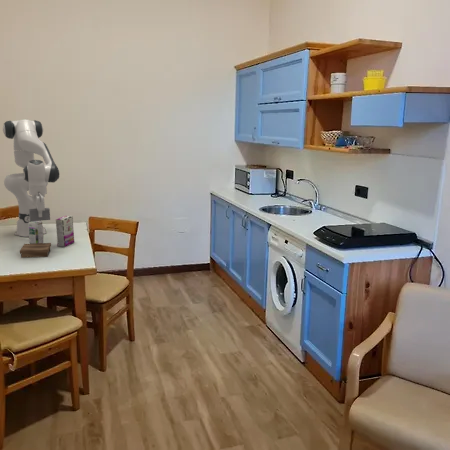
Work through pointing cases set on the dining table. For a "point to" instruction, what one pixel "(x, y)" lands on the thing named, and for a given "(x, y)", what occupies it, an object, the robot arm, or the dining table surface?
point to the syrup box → (35, 232)
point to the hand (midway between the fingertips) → (39, 216)
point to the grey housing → (34, 216)
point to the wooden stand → (35, 250)
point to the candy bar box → (65, 231)
